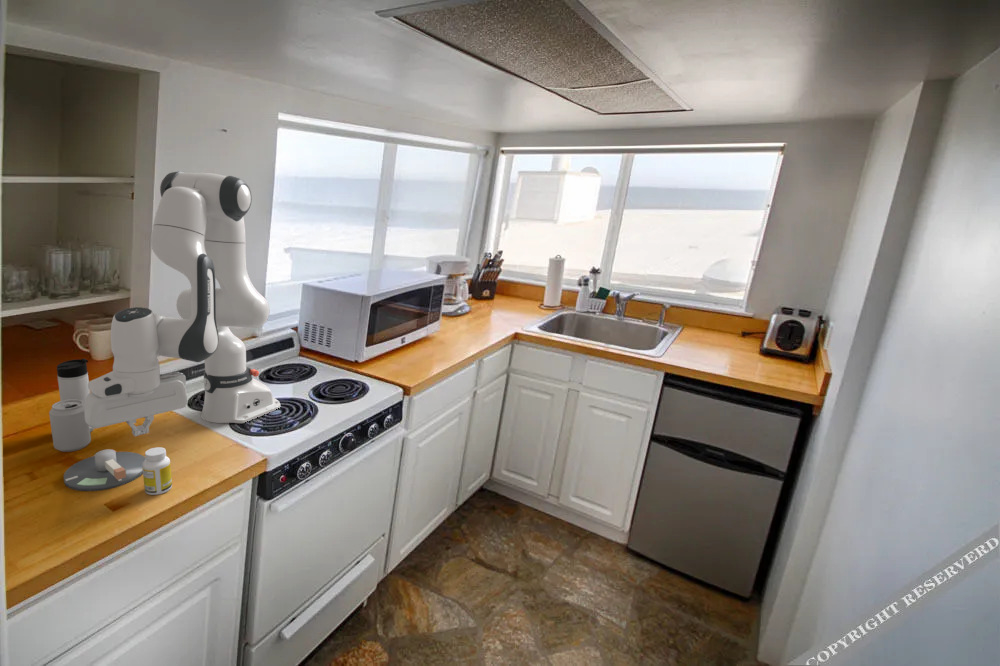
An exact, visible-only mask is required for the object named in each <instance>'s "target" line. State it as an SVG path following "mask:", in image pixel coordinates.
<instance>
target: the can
mask: <svg viewBox="0 0 1000 666" xmlns="http://www.w3.org/2000/svg"><path fill="white" fill-rule="evenodd" d="M83 403H84V402H83V401H82V400H77V399H70V400H64V401H61V400H59V401H57V402H54V404H52V405H51V409H50V410H49V412H48V413H49V414H48V415H49V421H50V428H51V436H52V442H53V443H52V444H53V448H54V449H55V450H58V451H59V452H65V453H70V452H75V451H80V450H82V449H83V448H86V447H87V446H88V445H89V444H90V443H91V441H92V438H91V436H92V435H91V432H90V427H89V425H88V424H87V423H86V422H85V413H84V412H85V404H83Z"/></svg>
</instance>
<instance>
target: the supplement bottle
mask: <svg viewBox="0 0 1000 666" xmlns="http://www.w3.org/2000/svg"><path fill="white" fill-rule="evenodd" d="M144 457H145V459H146V460H145V461H144V462H143V464H142V468H143V474H142V477H143V487H144V488H143V490H144V492H145V493H146V494H147V495H150V496H156V495H161V494H164V493H167V492H169V491H170V490H171V489H172V488H173V480H172V478H173V477H172V467H171V466H172V465H171V460H170V457H168V456H167V450H166V448H164V447H161V446H160V447H157V446H156V447H151V448H149V449H147V450H146V451H144Z"/></svg>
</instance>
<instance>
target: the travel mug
mask: <svg viewBox="0 0 1000 666" xmlns="http://www.w3.org/2000/svg"><path fill="white" fill-rule="evenodd" d="M88 363H89V360H87V358H79V359H77V358H76V359H70V360H66V361H63V362H60V363H59V364H57V366H56V372H57V376H56V377H57V383H58V389H59V391H58V392H59V399H60V400H59V401H64V400H70V399H77V400H82V401H83V402H84V403H83V404H85V400H86V397H87V396H88V394H89V393H91V391H90V390H89V388H88V383H89V382H90V380H89V375H88V374H89V372H88ZM89 427H90V426H89ZM94 430H95V428H92V427H90V433H92V432H93V431H94Z"/></svg>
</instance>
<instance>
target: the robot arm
mask: <svg viewBox="0 0 1000 666" xmlns="http://www.w3.org/2000/svg"><path fill="white" fill-rule="evenodd" d="M159 187H160V188H159V191H160V196H161V198H160V200H159V204H158V206H157V209H156V212H155V216H154V220H153V225H152V231H151V235H150V236H151V237H150V245H151V246H150V247H151V249H152V252H153V253H154V255H155V256H156V257H157V259H159V260H160V261H161V263H164V264H165V265H166V266H168V267H169V268H172V269H174V270H176V271H177V272H180V273H181V274H182V275H184V276H185V277H186V278H187V279H188V281H189V284H190V287H187V288H185V289H183V290H181V292H180V293H179V295H178V297H177V300H176V305H175V306H176V310H177V313H178V314H179V316H180V317H181V318H179V317H173V316H164V315H161V314H160V315H159V314H157V313H154V311H153V310H152V309H151V308H147V307H142V306H141V307H140V306H135V307H129V308H124V309H121V310H119V311H117V312H116V313H115V314H114V315H113V317H112V321H111V324H110V325H111V326H110V347H111V348H110V350H111V353H112V354H113V364H112V371H110V372H108V373H106V374H105V373H104V375H101V376H99V377H97V378H94V379H92V380H89V383H88V388H89V390H90V393H89V394H88V396H87V397H86V400H85V412H84V413H85V422H86V423H87V424H88V425H89V426H90V427H92V428H94V430H95V429H100V428H104V427H109V426H112V425H116V424H121V423H126V424H127V425H128V426H129V427H130V428H131V434H132V435H133V437H138V436H142V435H146V434H149V433H150V426H151V425H152V423H153V421H154V420H155V417H154V416H155V415H159V414H163V413H168V412H173V411H175V410H181V409H184V408H186V407H187V406H188V404H189V403H188V394H187V389H186V385H187V384H186V383H187V377H186V375H185V374H184V373H182V372H180V371H173V372H168V373H161V369H160V361H159V360H158V358H159V357H160V356H161V357H165V358H175V359H181V360H185V361H190V362H194V363H201V362H204V371H203V387H204V388H203V389H204V391H205V392H204V401H203V407H202V411H201V414H200V417H201V418H202V419H203V420H205V421H207V422H211V423H218V424H225V423H226V424H227V423H229V424H230V423H235V424H245V422H246V423H248V422H249V421H253V420H255V419H257V417H258V418H260V417H262V416H265V415H267V414H270V413H272V412H274V411H277V410H279V409H281V408H280V407H282V406H281V403H280V401H279V400H278V399H277V398H275V397H274V396H273V393H272V390H271V389H270V387H269V386H268V385H266V384H264V383H262V382H261V381H259V380H257V379H255V378H257V377H259V374H260V372H259V370H257V369H255V368H253V369H252V368H251V367H248V366H247V347H246V345H245V343H244V342H243V340H241V339H240V338H239V337H237V336H236V335H235V334H233V332H232V331H231V329H230V328H233V329H242V330H247V329H249V330H251V329H258V328H261V327H263V326H264V324H266V323H267V321H268V320H269V319H268V318H269V317H270V310H271V309H270V305H269V302H268V300H267V299H266V297H264V296H263V295H262V294H261V293H260V292H259V291H258V290H257V289H256V288H255V286H254V285H253V283H252V280H251V279H250V276H249V273H248V268H247V256H246V255H247V251H246V250H247V249H246V248H247V247H246V246H247V245H246V244H247V243H246V241H247V239H246V238H247V237H246V226H245V219H244V216H246V214H248V212H249V210H250V208H251V205H252V200H253V199H252V198H253V197H252V191H251V189H250V186H249V185H248V184H247V182H246V181H245V180H243V179H241V178H240V177H236V176H232V175H228V176H227V175H224V174H219V173H214V172H213V173H212V172H186V171H174V172H173V171H172V172H169V173H167V174H166V175H165V176H164V177H163V179H162V181H161V183H160V186H159ZM216 281H217V282H218V284H219V288H218V287H216ZM253 377H255V378H253ZM278 408H279V409H278ZM276 409H277V410H276ZM269 412H270V413H269ZM264 414H265V415H264ZM143 418H144V421H143V423H142V424H141V425H135V424H136V423H137V419H138V420H139V419H143ZM252 419H253V420H252ZM247 421H248V422H247Z"/></svg>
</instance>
